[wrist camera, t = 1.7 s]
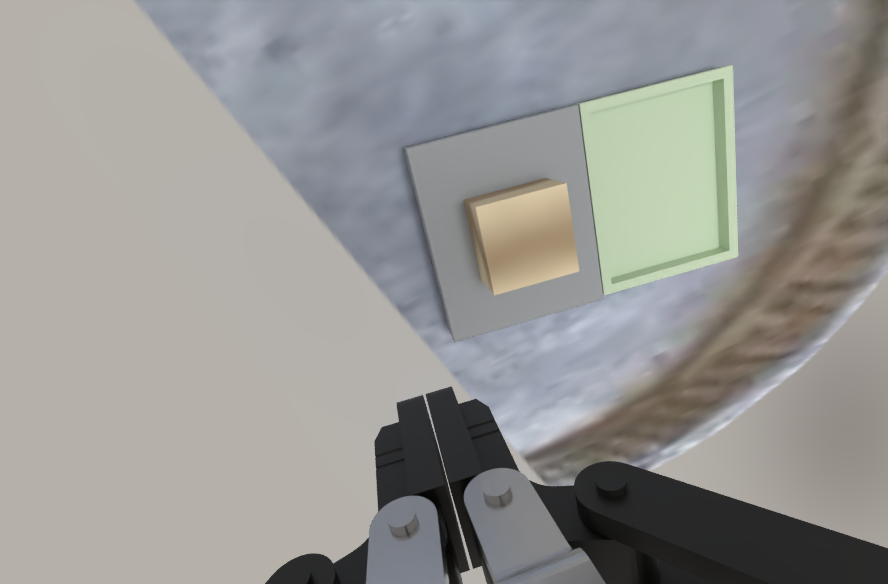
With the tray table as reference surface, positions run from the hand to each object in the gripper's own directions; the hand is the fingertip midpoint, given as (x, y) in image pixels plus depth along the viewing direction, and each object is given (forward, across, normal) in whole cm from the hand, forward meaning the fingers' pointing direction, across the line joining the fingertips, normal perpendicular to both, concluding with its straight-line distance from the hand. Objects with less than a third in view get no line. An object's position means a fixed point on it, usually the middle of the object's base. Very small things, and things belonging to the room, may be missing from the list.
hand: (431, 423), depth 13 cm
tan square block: (+17, -8, 0) cm, 18 cm away
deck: (+19, -8, 0) cm, 20 cm away
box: (+19, -18, 0) cm, 26 cm away
